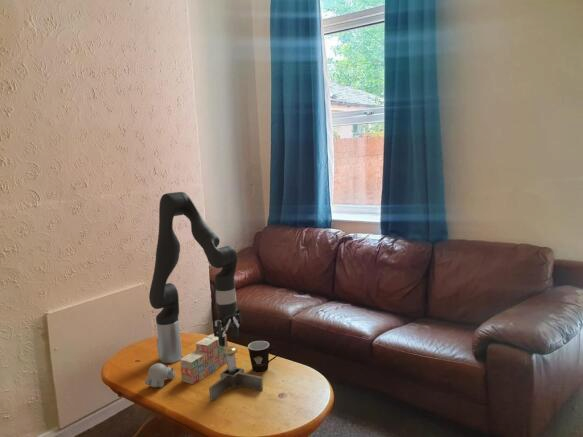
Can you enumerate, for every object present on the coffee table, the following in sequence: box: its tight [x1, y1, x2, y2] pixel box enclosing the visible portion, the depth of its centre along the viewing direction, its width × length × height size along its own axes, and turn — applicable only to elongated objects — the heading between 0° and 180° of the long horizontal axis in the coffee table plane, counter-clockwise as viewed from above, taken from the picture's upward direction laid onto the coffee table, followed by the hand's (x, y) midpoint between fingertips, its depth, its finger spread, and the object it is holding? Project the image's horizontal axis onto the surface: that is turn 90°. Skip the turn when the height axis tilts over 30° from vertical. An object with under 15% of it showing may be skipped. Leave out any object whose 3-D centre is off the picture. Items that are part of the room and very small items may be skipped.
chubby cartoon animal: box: [144, 362, 176, 388], centre depth 176 cm, size 7×12×8 cm, turn 139°
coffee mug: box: [247, 340, 280, 373], centre depth 182 cm, size 12×9×10 cm
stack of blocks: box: [179, 332, 229, 385], centre depth 183 cm, size 21×6×12 cm, turn 148°
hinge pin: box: [223, 345, 238, 375], centre depth 172 cm, size 5×5×14 cm
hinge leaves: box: [208, 366, 264, 402], centre depth 166 cm, size 16×16×5 cm
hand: (229, 341), depth 170 cm, fingers open, 8 cm apart
